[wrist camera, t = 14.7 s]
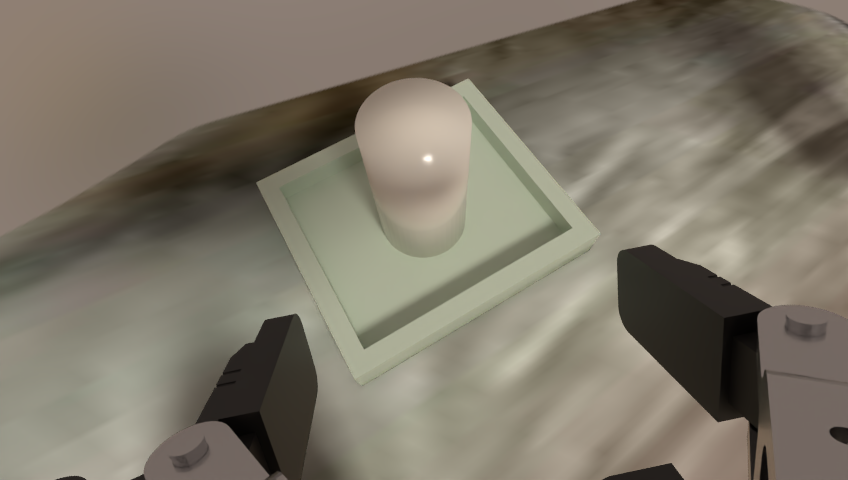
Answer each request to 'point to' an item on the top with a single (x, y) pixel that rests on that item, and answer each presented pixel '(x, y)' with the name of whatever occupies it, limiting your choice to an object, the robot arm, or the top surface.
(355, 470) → the top surface
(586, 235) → the tray
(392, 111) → the white domed cylinder
